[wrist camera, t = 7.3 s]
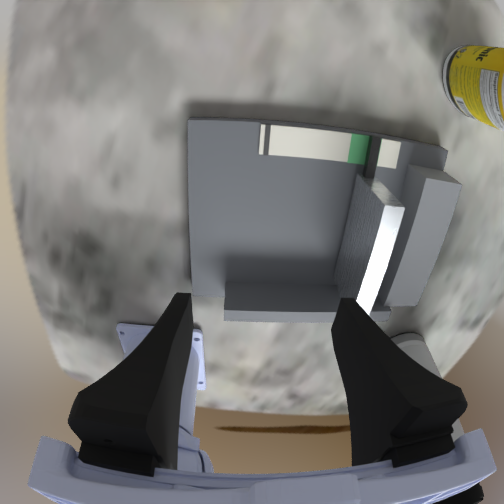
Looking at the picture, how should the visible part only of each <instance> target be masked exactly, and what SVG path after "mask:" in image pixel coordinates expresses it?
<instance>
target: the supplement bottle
mask: <svg viewBox="0 0 504 504" xmlns="http://www.w3.org/2000/svg"><path fill="white" fill-rule="evenodd" d="M443 83H444V88H445V92H446V94H447V97H448V98H449V100H450V102H451V103H452V105H453V106H454V107H455V108H456V109H457V110H458V111H459V112H461V113H462V114H464V115H466V116H468V117H470V118H473V119H475V120H478V121H480V122H483V123H485V124H488V125H490V126H493V127H495V128H497V129H500V130H502V131H504V48H498V47H488V46H474V45H465V46H460V47H457V48H456V49H454V50H453V51H452V52H451V53H450V54H449V55H448V57H447V59H446V61H445V64H444V68H443Z"/></svg>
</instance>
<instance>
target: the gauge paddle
mask: <svg viewBox="0 0 504 504" xmlns="http://www.w3.org/2000/svg"><path fill="white" fill-rule="evenodd" d="M381 140H382V138H381V137H379V136H374V135H370V136H369V142H368V148H367V153H366V159H365V164H364V169H363V174H361V173H357V174H356V179H355V184H354V189H353V194H352V199H351V204H350V209H349V213H348V218H347V222H346V227H345V231H344V236H343V240H342V244H341V248H340V253H339V257H338V261H337V265H336V269H335V273H334V280H335V283H336V286H337V288H338V291H339V294H340V297H341V298H354V299H355V300H356V301H357V302H358V303H359V304H360V305H361V307H362V308H363V309H364V310H365V311H366V313H367V314H368V315H369V314H370V311H371V309H372V306H373V304H374V301H375V298H376V296H377V293H378V290H379V287H380V285H381V282H382V279H383V276H384V273H385V271H386V268H387V265H388V262H389V259H390V256H391V253H392V250H393V246H394V243H395V240H396V237H397V234H398V230H399V227H400V224H401V220H402V217H403V213H404V210H405V207H404V206H403V205H402V204H401V203H400V201H399V200H398V199H397V198H396V197H395V196H394V195H393V194H392V193H391V192H390V191H389V190H388V189H387V188H386V187H385V186H384V185H383V184H382V183H381V182H380V181H379V180H378V179H377V178H376V177H375V171H376V166H377V161H378V156H379V151H380V146H381Z"/></svg>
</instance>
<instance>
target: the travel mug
mask: <svg viewBox="0 0 504 504" xmlns="http://www.w3.org/2000/svg"><path fill="white" fill-rule="evenodd" d="M391 340H392V341H393V342H394V343H395V344H396V345H397V346H398V347H399V348H400V349H401V350H403V351H404V352H405V353H406V354H407V355H408V356H410V357H411V358H412V359H413V360H415V361H416V362H417V363H419V364H420V365H421V366H423V367H424V368H426V369H427V370H429V371H430V372H432V373H433V374H435V375H437V376H438V377H440V378H442V377H441V375H440V373H439V371H438V368H437V366H436V364H435V362H434V360H433V358H432V355H431V353H430V351H429V349H428V347H427V345H426V343H425V341H424V339H423V337H422V336H420V335H418V334H415V333H406V334H401V335H398V336H395V337H393V338H391ZM452 427H453V430H454V431H453V433H452V434H451V436H452V439H453V442H454V441H455V440H456V439H457V438H459V437H460V436H462V435H463V434H464V431H463V428H462V426H461V423H460V421H459V418H458V419H457V420H456V421H455V422H454V423H453V424H452ZM479 483H480V482H478V483H477V484H475V485H474V486H472V487H470V488H469V489H467V490H465V491H462V492H460V493H458V494H455V495H453V496H450V497H448V498H445V499H443V500H440V501H438V502H435V503H432V504H478V503H479V502H481V501H482V500H483V497H484V494H483V490H482V487H481V486H480V485H479Z"/></svg>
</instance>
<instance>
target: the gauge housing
mask: <svg viewBox="0 0 504 504" xmlns="http://www.w3.org/2000/svg"><path fill="white" fill-rule="evenodd" d="M370 135H374V136H379V137H381V138H382V140H381V146H380V151H379V156H378V161H377V166H376V171H375V177H376V178H377V179H378V180H379V181H380V182H381V183H382V184H383V185H384V186H385V187H386V188H387V189H388V190H389V191H390V192H391V193H392V194H393V195H394V196H395V197H396V198H397V199H398V200H399V201H400V203H401V204H402V205H403V206H404V207H405V210H404V213H403V217H402V220H401V224H400V227H399V230H398V234H397V237H396V240H395V243H394V246H393V250H392V253H391V256H390V259H389V262H388V265H387V268H386V271H385V273H384V276H383V279H382V282H381V285H380V287H379V290H378V293H377V296H376V298H375V301H374V304H373V306H372V309H371V311H370V314H369V316H370V317H371V318H372V320H373V321H387V320H388V318H389V316H390V314H391V309H390V307H396V306H417V304H418V302H419V300H420V297H421V295H422V293H423V291H424V289H425V286H426V284H427V282H428V279H429V277H430V275H431V272H432V270H433V267H434V265H435V262H436V260H437V257H438V255H439V252H440V250H441V247H442V244H443V242H444V239H445V236H446V233H447V231H448V228H449V225H450V222H451V219H452V216H453V213H454V210H455V207H456V204H457V201H458V198H459V194H460V191H461V188H462V184H461V183H459V182H458V181H457V180H455V179H454V178H452V177H451V176H450V175H448V174H447V173H446V172H444V171H443V170H444V166H445V162H446V158H447V154H448V150H446V149H444V148H442V147H440V146H436V145H432V144H428V143H423V142H419V141H414V140H409V139H404V138H399V137H394V136H389V135H384V134H378V133H372V132H366V131H360V130H353V129H347V128H340V127H332V126H324V125H316V124H307V123H297V122H286V121H274V120H260V119H242V118H211V117H190V118H189V119H188V204H189V234H190V256H191V275H192V291H193V296H207V297H225V302H224V321H246V322H305V323H315V322H334V319H335V316H336V313H337V309H338V306H339V303H340V300H341V297H340V294H339V291H338V288H337V286H336V283H335V280H334V273H335V269H336V265H337V261H338V257H339V253H340V248H341V244H342V240H343V236H344V231H345V227H346V222H347V218H348V213H349V209H350V204H351V199H352V194H353V189H354V184H355V179H356V174H357V173H361V174H363V169H364V164H365V159H366V153H367V148H368V142H369V136H370Z"/></svg>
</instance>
